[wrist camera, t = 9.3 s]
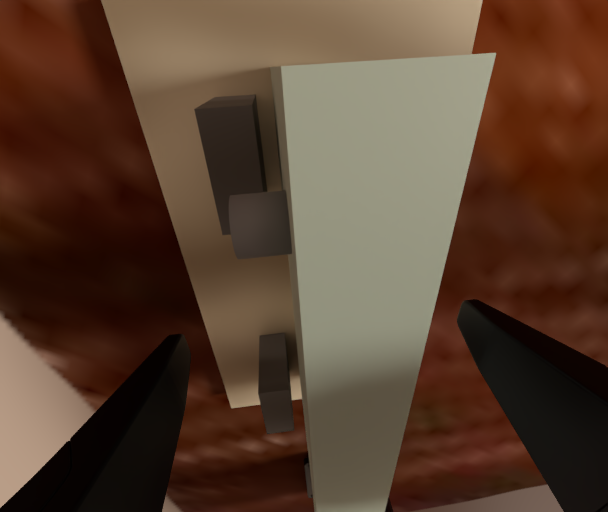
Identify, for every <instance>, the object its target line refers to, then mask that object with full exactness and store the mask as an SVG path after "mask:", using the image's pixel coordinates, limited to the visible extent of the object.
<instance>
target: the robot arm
mask: <svg viewBox="0 0 608 512" xmlns="http://www.w3.org/2000/svg"><path fill="white" fill-rule="evenodd" d="M457 323H458V327H459V329H460V331H461V333H462V335H463V337H464V339H465V342H466V344H467V346H468V348H469V350H470V352H471V354H472V357H473V359H474V361H475V363H476V365H477V367H478V369H479V370H480V372H481V374H482V376H483V377H484V379H485V381H486V382H487V384H488V386H489V387H490V389H491V391H492V392H493V394H494V396H495V397H496V399H497V401H498V402H499V404H500V406H501V407H502V409H503V411H504V412H505V414H506V416H507V417H508V419H509V421H510V422H511V424H512V426H513V427H514V429H515V431H516V432H517V434H518V436H519V437H520V439H521V441H522V442H523V444H524V446H525V448H526V449H527V451H528V453H529V454H530V456H531V458H532V459H533V461H534V463H535V464H536V466H537V468H538V469H539V471H540V473H541V474H542V476H543V478H544V479H545V481H546V483H547V484H548V486H549V488H550V489H551V491H552V493H553V494H554V496H555V498H556V499H557V501H558V503H559V504H560V506H561V508H562V509H563V511H564V512H608V367H606V366H605V365H603V364H601V363H600V362H598V361H596V360H594V359H592V358H590V357H588V356H586V355H584V354H582V353H580V352H578V351H576V350H574V349H572V348H570V347H568V346H567V345H565V344H563V343H561V342H559V341H557V340H555V339H553V338H551V337H549V336H547V335H545V334H543V333H541V332H539V331H537V330H535V329H534V328H532V327H530V326H528V325H526V324H524V323H522V322H520V321H518V320H516V319H514V318H512V317H510V316H508V315H506V314H504V313H502V312H501V311H499V310H497V309H495V308H493V307H491V306H489V305H487V304H485V303H483V302H481V301H479V300H476V299H473V300H465V301H463V302H462V304H461V308H460V311H459V314H458V318H457ZM190 362H191V353H190V349H189V347H188V344H187V341H186V339H185V336H184V335H183V334H174V335H169V336H168V337H167V338H166V339H165V340H164V341H163V342H162V343H161V344H160V345H159V346H158V347H157V348H156V349H155V350H154V351H153V352H152V353H151V354H150V355H149V356H148V358H147V359H146V360H145V361H144V362H143V363H142V364H141V365H140V366H139V367H138V368H137V369H136V370H135V371H134V372H133V373H132V374H131V375H130V376H129V377H128V379H127V380H126V381H125V382H124V383H123V384H122V385H121V386H120V387H119V388H118V389H117V390H116V391H115V392H114V393H113V394H112V395H111V396H110V397H109V398H108V400H107V401H106V402H105V403H104V404H103V405H102V406H101V407H100V408H99V409H98V410H97V411H96V412H95V413H94V414H93V415H92V416H91V418H89V419H88V421H87V422H86V423H85V424H84V425H83V426H82V427H81V428H80V429H79V430H78V431H77V432H76V433H75V434H74V435H73V436H72V437H71V439H70V441H68V442H66V444H64V446H63V447H62V448H61V449H60V450H59V451H58V452H57V453H56V454H55V455H54V456H53V457H52V458H51V459H50V460H49V461H48V462H47V463H46V464H45V465H44V466H43V467H42V468H41V469H40V470H39V471H38V472H37V473H36V474H35V475H34V476H33V477H32V478H31V479H30V480H29V481H28V482H27V483H26V484H25V485H24V486H23V487H22V488H21V489H20V490H19V491H18V492H17V493H16V494H15V495H14V496H13V497H12V498H11V499H9V500H8V501H7V502H6V503H5V504H4V505H3V506H2V507H1V508H0V512H162V509H163V504H164V500H165V495H166V491H167V487H168V482H169V478H170V473H171V469H172V464H173V460H174V456H175V451H176V447H177V442H178V438H179V433H180V429H181V425H182V420H183V416H184V411H185V405H186V398H187V389H188V380H189V371H190ZM304 465H305V474H306V484H307V493H308V497H309V498H313V491H312V482H311V473H310V464H309V457H307V458H305V459H304ZM313 501H314V500H313ZM314 510H315V509H314ZM385 512H393V509H392V506H391V502H390V499H389V497H388V501H387V505H386V509H385Z"/></svg>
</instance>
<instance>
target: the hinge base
mask: <svg viewBox="0 0 608 512" xmlns="http://www.w3.org/2000/svg"><path fill="white" fill-rule="evenodd" d="M101 1H102V5H103V8H104V11H105V14H106V17H107V20H108V23H109V26H110V30H111V33H112V36H113V39H114V42H115V45H116V48H117V52H118V55H119V58H120V61H121V64H122V67H123V70H124V73H125V77H126V80H127V83H128V86H129V89H130V92H131V95H132V98H133V102H134V105H135V108H136V111H137V114H138V117H139V120H140V124H141V127H142V130H143V133H144V136H145V139H146V142H147V145H148V149H149V152H150V155H151V158H152V161H153V164H154V167H155V170H156V174H157V177H158V180H159V183H160V186H161V189H162V192H163V195H164V199H165V202H166V205H167V208H168V211H169V214H170V217H171V221H172V224H173V227H174V230H175V233H176V236H177V239H178V242H179V246H180V249H181V252H182V255H183V258H184V261H185V264H186V267H187V271H188V274H189V277H190V280H191V283H192V286H193V289H194V292H195V296H196V299H197V302H198V305H199V308H200V311H201V314H202V318H203V321H204V324H205V327H206V330H207V333H208V336H209V339H210V343H211V346H212V349H213V352H214V355H215V358H216V361H217V364H218V368H219V371H220V374H221V377H222V380H223V383H224V386H225V390H226V393H227V396H228V399H229V402H230V405H231V408H237V407H245V406H252V405H259V404H261V409H262V413H263V417H264V422H265V426H266V431H267V434H271V433H278V432H285V431H293V430H294V421H293V409H292V400H297V399H302V393H301V384H300V375H299V364H298V354H297V343H296V333H295V322H294V312H293V302H292V291H291V281H290V270H289V260H288V255H278V256H268V257H258V258H249V259H237V257H236V255H235V252H234V248H233V243H232V238H231V232H230V223H229V197H230V195H238V194H250V193H261V192H272V191H282V187H281V176H280V166H279V155H278V145H277V134H276V124H275V113H274V103H273V93H272V82H271V72H270V67H277V66H293V65H309V64H325V63H341V62H357V61H373V60H390V59H406V58H422V57H438V56H454V55H470V54H472V49H473V44H474V39H475V35H476V30H477V25H478V20H479V15H480V10H481V6H482V1H483V0H101Z"/></svg>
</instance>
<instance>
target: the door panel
mask: <svg viewBox="0 0 608 512" xmlns="http://www.w3.org/2000/svg"><path fill="white" fill-rule="evenodd" d="M495 56H496V53H487V54H470V55H454V56H438V57H422V58H406V59H390V60H373V61H357V62H341V63H325V64H309V65H293V66H277V67H270V72H271V82H272V93H273V103H274V113H275V124H276V134H277V145H278V155H279V166H280V176H281V187H282V191H272V192H261V193H250V194H238V195H230V197H229V223H230V232H231V238H232V243H233V248H234V252H235V255H236V257H237V259H249V258H258V257H268V256H278V255H288V260H289V270H290V281H291V291H292V302H293V312H294V322H295V333H296V343H297V354H298V364H299V375H300V384H301V393H302V402H303V410H304V419H305V428H306V437H307V446H308V455H309V464H310V473H311V482H312V491H313V500H314V509H315V512H385V509H386V505H387V501H388V497H389V492H390V488H391V484H392V480H393V476H394V472H395V468H396V464H397V459H398V455H399V451H400V447H401V443H402V439H403V435H404V431H405V427H406V422H407V418H408V414H409V410H410V406H411V402H412V398H413V394H414V390H415V385H416V381H417V377H418V373H419V369H420V365H421V361H422V357H423V352H424V348H425V344H426V340H427V336H428V332H429V328H430V324H431V320H432V315H433V311H434V307H435V303H436V299H437V295H438V291H439V287H440V282H441V278H442V274H443V270H444V266H445V262H446V258H447V254H448V250H449V245H450V241H451V237H452V233H453V229H454V225H455V221H456V217H457V213H458V208H459V204H460V200H461V196H462V192H463V188H464V184H465V180H466V175H467V171H468V167H469V163H470V159H471V155H472V151H473V147H474V143H475V138H476V134H477V130H478V126H479V122H480V118H481V114H482V110H483V106H484V101H485V97H486V93H487V89H488V85H489V81H490V77H491V73H492V68H493V64H494V60H495Z"/></svg>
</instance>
